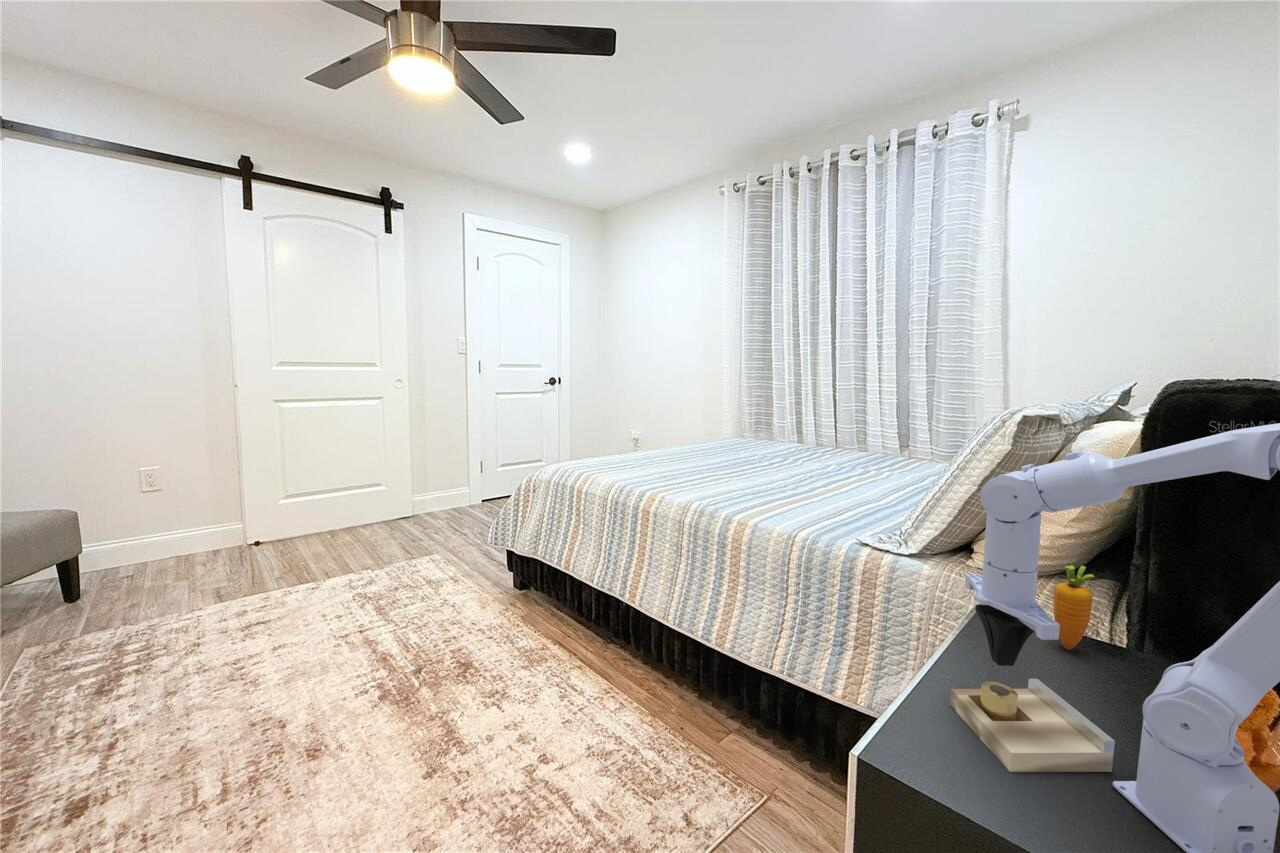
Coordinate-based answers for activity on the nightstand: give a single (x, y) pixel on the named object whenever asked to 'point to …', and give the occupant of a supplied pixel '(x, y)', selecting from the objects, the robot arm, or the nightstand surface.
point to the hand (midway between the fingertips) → (1002, 662)
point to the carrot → (1072, 607)
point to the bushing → (998, 701)
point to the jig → (1038, 732)
